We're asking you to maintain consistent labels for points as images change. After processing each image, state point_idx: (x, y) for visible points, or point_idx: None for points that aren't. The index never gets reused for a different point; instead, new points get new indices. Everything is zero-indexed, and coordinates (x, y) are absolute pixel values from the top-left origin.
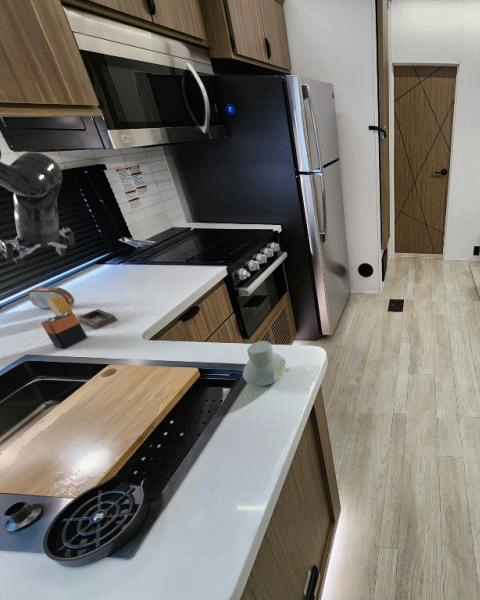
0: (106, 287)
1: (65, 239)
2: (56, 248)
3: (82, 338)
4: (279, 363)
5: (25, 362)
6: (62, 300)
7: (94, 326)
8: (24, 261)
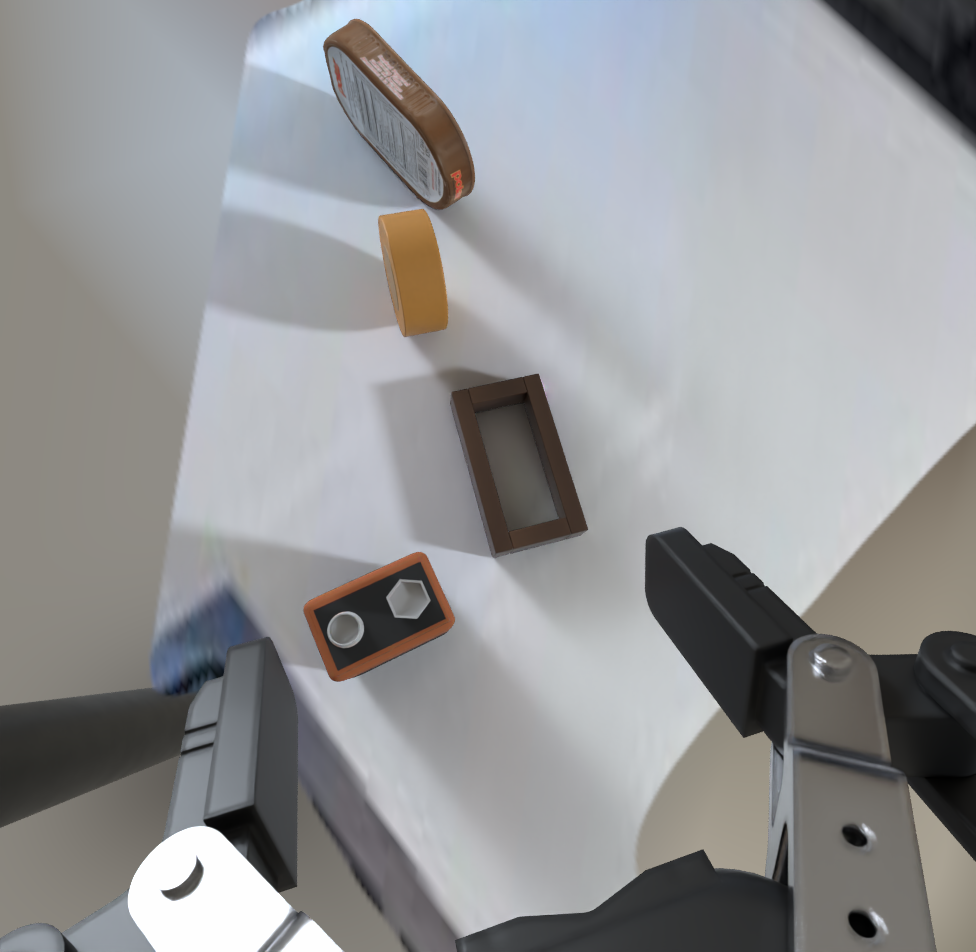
0: (597, 95)
1: (940, 727)
2: (681, 579)
3: (431, 640)
4: None
5: (212, 671)
6: (434, 275)
7: (493, 553)
8: (296, 787)
